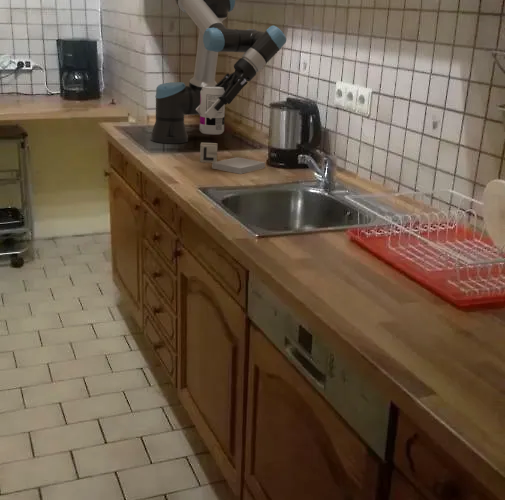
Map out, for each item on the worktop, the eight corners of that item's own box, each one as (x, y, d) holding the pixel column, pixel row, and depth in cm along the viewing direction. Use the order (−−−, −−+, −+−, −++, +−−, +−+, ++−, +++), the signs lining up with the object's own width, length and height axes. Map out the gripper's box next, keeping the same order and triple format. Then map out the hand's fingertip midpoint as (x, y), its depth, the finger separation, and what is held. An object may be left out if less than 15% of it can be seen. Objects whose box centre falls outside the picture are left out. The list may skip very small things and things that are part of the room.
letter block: (200, 158, 248) (200, 142, 246) (216, 159, 249) (217, 143, 247) (199, 162, 242) (200, 145, 241) (216, 162, 243) (217, 146, 241)
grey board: (237, 162, 246) (237, 157, 245) (264, 167, 239) (265, 162, 239) (212, 168, 234) (212, 162, 233) (240, 174, 228) (240, 168, 227)
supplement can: (194, 132, 227) (195, 87, 222) (208, 129, 234) (209, 85, 229) (215, 135, 223) (216, 89, 219) (228, 132, 230) (229, 87, 225)
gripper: (269, 76, 220) (222, 127, 218) (243, 70, 238) (199, 117, 236) (255, 59, 216) (207, 110, 214) (229, 54, 234) (185, 102, 232)
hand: (203, 114), depth 225 cm, fingers closed on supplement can, 8 cm apart
